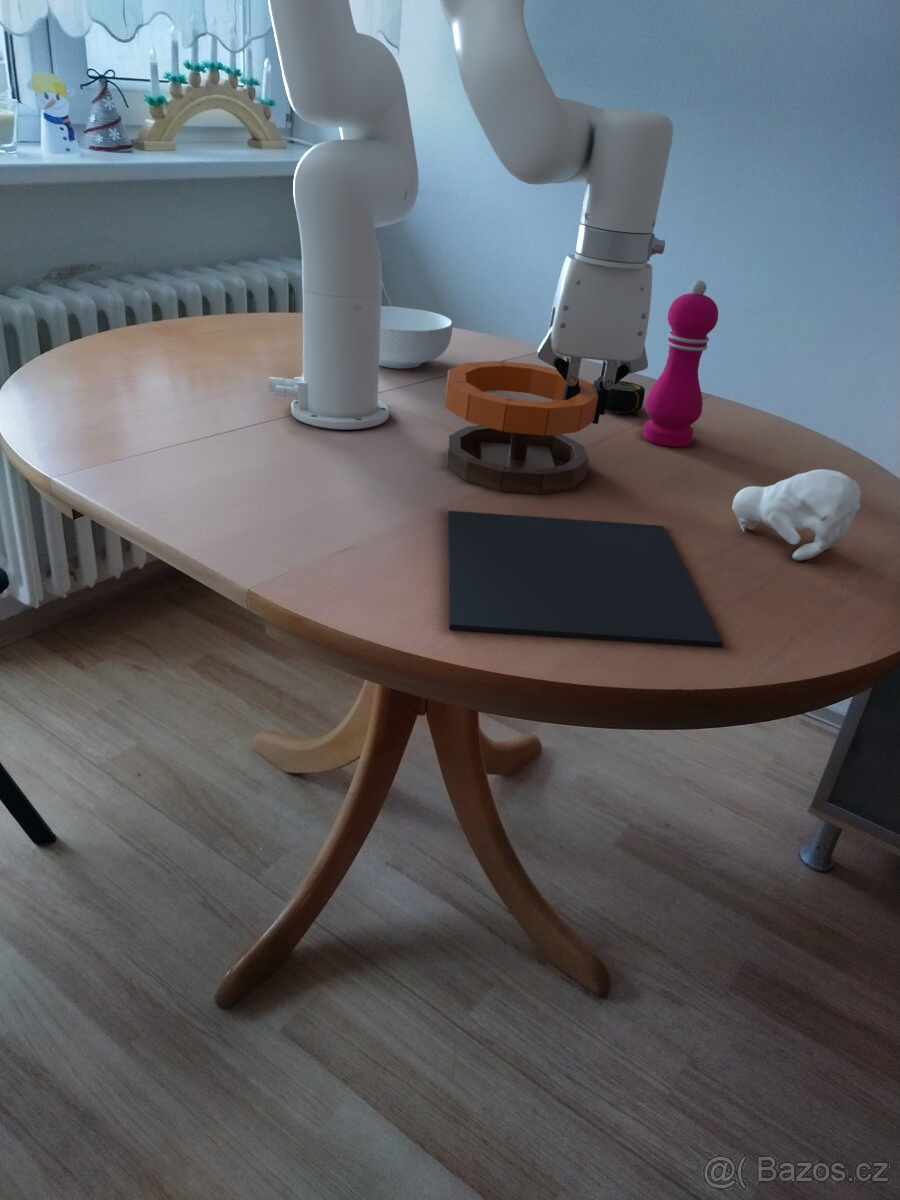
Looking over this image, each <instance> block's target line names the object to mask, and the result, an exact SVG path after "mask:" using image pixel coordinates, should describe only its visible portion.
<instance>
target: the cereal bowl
mask: <svg viewBox="0 0 900 1200" xmlns="http://www.w3.org/2000/svg"><path fill="white" fill-rule="evenodd" d="M453 325H454V323H453V321H452V319H450V318H449V317H448V316H445V315H442V314H440V313H436V312H433V311H430V310H429V311H428V310H422V309H417V308H409V307H401V306H390V305H389V306H387V305H386V306H385V305H381V324H380V351H379V367H384V368H390V369H404V370H405V369H406V370H407V369H414V368H418V367H420V366H421V365H422V364H423V363H427V362H431V361H433V360H436V359H437V358H439V357H440V356H441V355H443V354H444V353H445V351H446V350H447V349H448V347H449V345H450V344H451V339H452V335H453Z"/></svg>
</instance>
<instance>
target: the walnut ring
mask: <svg viewBox="0 0 900 1200" xmlns="http://www.w3.org/2000/svg"><path fill="white" fill-rule="evenodd" d="M511 434H512V432H504V431H499V430H496V429H492V428H489V427H485V426H482V425H478V424H476V425H470V426H468V425H467V426H465V427H462V428H461V429H459V430H457V431H455V432H453V433H451V434H449V435H448V437H447V450H446V468H447V469H448V470H449V471H450V472H452V473H454V474H455V475H456V476H458V477H459V478H461V479H462V480H464V481H465V482H467V483H470V484H473V485H476V486H480V487H484V488H487V489H491V490H494V491H498V492H502V493H514V494H515V493H517V494H530V495H545V494H549V493H556V492H561V491H567V490H572V489H573V488H575V487H576V486H577V485H579V484H580V482H582V481H583V480H584V479H586V475H587V471H588V464H589V456H588V454H587V451H586V449H585V446H584V445H583V444H581V443H579V442H578V441H576V440H574V439H572V438H570V437H568V436H566V435H564V434H555V435H533V434H529V439H528V446H540V447H549V448H550V451H551V454H552V456H554V457H555V458H557V459H559V460H561V461H562V462H564V463H565V464H564V465H558V466H556V465H555V467H550V468H543V469H528V468H514V467H505V466H501V465H497V464H494V463H490V462H486V461H483V460H480V458H476V457H475V456H474V455H471V454H470V453H469V451H471V450H473V449H474V450H475V449H480V442H486V443H500V444H510V442H511Z"/></svg>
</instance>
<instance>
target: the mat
mask: <svg viewBox="0 0 900 1200" xmlns="http://www.w3.org/2000/svg"><path fill="white" fill-rule="evenodd" d="M447 517H448V518H447V520H448V521H447V522H448V523H447V524H448V629H449V630H452V631H464V632H465V631H467V632H481V633H498V634H499V633H500V634H515V635H527V636H529V635H530V636H543V637H544V636H545V637H558V638H559V637H560V638H574V639H575V638H576V639H588V640H589V639H591V640H603V641H605V640H607V641H620V642H636V643H637V642H639V643H651V644H653V643H655V644H669V645H682V646H683V645H685V646H697V647H698V646H700V647H702V646H703V647H713V648H715V647H716V648H722V646H723V643H724V642H723V640H722V638H721V636H720V634H719V632H718V630H717V628H716V626H715V624H714V622H713V620H712V618H711V616H710V615H709V612H708V611H707V608H706V607H705V605H704V603H703V601H702V599H701V597H700V595H699V593H698V591H697V589H696V587H695V586H694V583H693V581H692V580H691V578H690V576H689V573H688V572H687V570H686V568H685V566H684V564H683V562H682V560H681V558H680V556H679V554H678V552H677V551H676V549H675V547H674V545H673V543H672V540H671V538H670V537H669V535H668V532H667V531H666V529H665V527H664V525H658V524H644V523H643V524H642V523H629V522H615V521H601V520H600V521H599V520H589V519H588V520H587V519H573V518H559V517H558V518H557V517H546V516H544V517H543V516H532V515H531V516H529V515H517V514H515V515H514V514H504V513H503V514H501V513H488V512H487V513H486V512H475V511H474V512H473V511H459V510H448V516H447Z"/></svg>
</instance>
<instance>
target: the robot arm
mask: <svg viewBox="0 0 900 1200" xmlns="http://www.w3.org/2000/svg"><path fill="white" fill-rule="evenodd" d="M436 1H437V3H438V5H439V7H440V9H441V11H442V13H443V15H444V17H445V19H446V21H447V23H448V26H449V27H450V30H451V33H452V35H453V36H452V37H453V48H454V54H455V58H456V61H457V65H458V71H459V75H460V79H461V82H462V86H463V90H464V92H465V95H466V97H467V101H468V102H469V104H470V107H471V109H472V111H473V113H474V116H475V117H476V119H477V121H478V123H479V125H480V127H481V129H482V130H483V132H484V135H485V136H486V138H487V140H488V142H489V145H490V146H491V148H492V150H493V151H494V153H495V155H496V157H497V158H498V160H499V161H500V163H501V165H502V166H503V167H504V168H505V169H506V170H507V172H509V174H510V175H511V176H513V177H514V178H516V179H517V180H519V181H520V182H523V183H525V184H528V185H534V186H535V185H547V184H561V183H562V184H564V183H583V182H585V188H584V196H583V202H582V208H581V214H580V221H579V226H578V233H577V239H576V244H575V245H576V246H575V250H574V251H575V252H574V253H569V254H566V257H565V259H564V262H563V265H562V268H561V272H560V275H559V278H558V282H557V286H556V290H555V295H554V299H553V303H552V308H551V313H550V317H549V323H548V330H547V333H546V335H545V336H544V338H543V340H542V342H541V343H540V345H539V347H538V348H537V350H536V355H537V358H538V359H539V360H541V361H542V362H544V363H546V364H548V365H550V366H552V367H553V368H554V369H556V370H558V372H559V373H560V374H561V376H562V377H563V378H564V380H565V381H566V383H565V389H564V395H563V400H569V399H571V398H572V397H574V396H576V395H578V394H579V393H580V390H581V388H580V386H579V379H578V377H579V374H580V370H581V364H582V359H587V360H596V361H601V366H600V367H601V368H600V372H599V377H597V381H596V380H595V381H596V382H595V383H594V382H593V383H594V385H593V384H592V385H593V387H594V389H595V391H596V393H597V394H598V400H597V406H596V411H595V416H594V421H593V423H592V424H593V425H598V424H599V421H600V416H604V415H605V413H606V410H607V409H606V404H607V399H608V394H609V390H610V389H612V388H613V387H614V385H615V384H616V383H617V382H619V381H622V380H623V379H625V378H626V377H627V376H628V375H630V374H635V373H638V372H642V371H645V370H647V369H648V367H649V362H648V361H649V360H648V356H647V350H646V346H645V345H646V339H647V333H648V327H649V319H650V311H651V302H652V291H653V265H652V264H650V263H649V261H650V260H651V257H652V256H653V255H654V256H655V255H657V254H658V255H663V254H664V252H665V248H666V241H665V240H664V239H659V238H658V237H656V236H655V233H654V231H655V226H656V221H657V217H658V211H659V207H660V203H661V197H662V192H663V189H664V188H663V186H664V182H665V177H666V173H667V167H668V163H669V158H670V153H671V148H672V142H673V138H674V125H673V122H672V120H671V118H670V117H669V116H668V115H666V114H663V113H660V112H654V111H648V110H640V109H639V110H638V109H631V108H620V107H619V108H618V107H617V108H616V107H615V108H608V109H605V108H601V107H599V106H598V107H597V106H594V105H591V104H588V103H584V102H582V101H577V100H573V99H567V98H562V97H557V96H556V93H555V92H554V90H553V88H552V86H551V84H550V81H549V80H548V78H547V77H546V74H545V72H544V70H543V68H542V66H541V64H540V62H539V59H538V58H537V55H536V53H535V51H534V48H533V45H532V43H531V41H530V38H529V35H528V32H527V27H526V22H525V16H524V7H525V1H526V0H436ZM267 2H268V8H269V15H270V19H271V23H272V29H273V33H274V38H275V44H276V48H277V49H276V50H277V54H278V59H279V64H280V69H281V73H282V79H283V84H284V87H285V91H286V96H287V98H288V101H289V104H290V106H291V108H292V110H293V112H294V113H295V114H296V116H298V117H299V118H300V119H301V120H303V121H304V122H306V123H308V124H309V125H313V126H317V127H323V128H324V127H325V128H335V129H337V128H338V129H339V133H340V138H336V139H329V140H324V141H322V142H319V143H317V144H315V145H314V146H312V147H310V148H309V149H308V150H307V151H306V152H305V153H304V154H303V155H302V156H301V158H300V160H299V162H298V163H297V166H296V167H295V172H294V176H293V185H292V186H293V188H292V190H293V193H292V194H293V201H294V202H293V203H294V207H295V213H296V214H295V215H296V218H297V219H296V220H297V224H298V231H299V239H300V251H301V253H300V254H301V288H302V366H303V367H302V374H301V375H300V376H294V378H293V379H290V378H284V377H276V376H270V377H269V379H268V392H269V393H274V396H275V398H276V397H278V398H293V400H292V402H291V404H290V412H291V416H293V417H294V418H295V419H296V420H298V421H299V422H302V423H304V424H306V425H310V426H313V427H317V428H323V429H329V430H361V429H369V428H373V427H376V426H379V425H381V424H383V423H385V422H386V421H387V420H388V419H389V417H390V407H389V405H388V404H387V403H386V402H385V401H383V400H381V399H379V378H380V377H379V375H380V365H379V351H380V324H381V306H382V293H383V292H382V291H383V290H382V287H383V286H382V285H383V267H382V257H381V252H380V247H379V244H378V239H377V234H376V228H383V227H387V226H391V225H394V224H397V223H399V222H401V221H402V220H404V219H405V218H406V217H407V216H408V215H409V214H410V212H411V211H412V209H413V208H414V206H415V203H416V201H417V196H418V193H419V185H420V184H419V167H418V160H417V154H416V148H415V141H414V133H413V128H412V121H411V115H410V110H409V109H410V107H409V102H408V101H409V100H408V97H407V96H408V95H407V90H406V84H405V80H404V76H403V74H402V71H401V68H400V66H399V64H398V61H397V60H396V59H397V58H396V57H395V56H394V55H393V53H392V52H391V50H390V49H389V48H388V47H387V45H385V44H384V43H383V42H382V41H381V40H379V39H378V38H375V37H373V36H371V35H369V34H365V33H362V32H358V31H357V29H356V26H355V23H354V19H353V14H352V10H351V9H352V8H351V5H350V0H267ZM564 357H566V358H564Z"/></svg>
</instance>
